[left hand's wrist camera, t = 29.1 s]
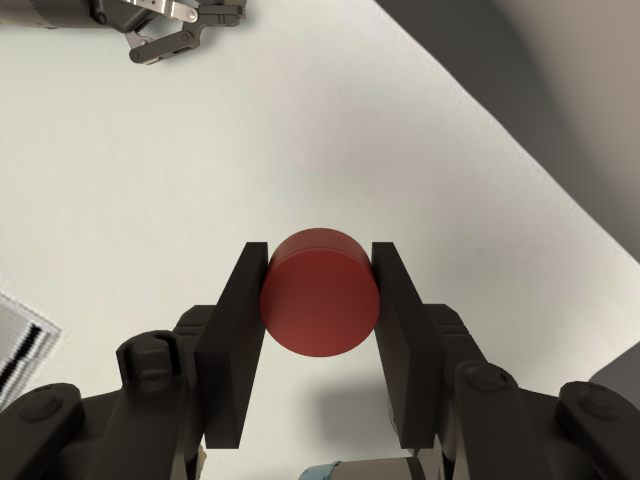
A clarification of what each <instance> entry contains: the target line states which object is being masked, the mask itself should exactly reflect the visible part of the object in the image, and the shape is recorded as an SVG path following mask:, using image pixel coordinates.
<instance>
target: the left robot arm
mask: <svg viewBox="0 0 640 480" xmlns="http://www.w3.org/2000/svg"><path fill="white" fill-rule="evenodd" d="M268 265H269V263H268V243H267V242H247V243H246V245H245V247H244V249H243V251H242V253H241V255H240V257H239V259H238V261H237V263H236V266H235V268H234V270H233V272H232V274H231V276H230V278H229V280H228V282H227V284H226V286H225V288H224V290H223V292H222V294H221V296H220V298H219V301H218V303H217V305H195V306H193V307H192V308H191V309H189V310H188V311H186V312H185V313H184V314H183V315H182V316H181V318H180V320H179V321H178V323H177V324H176V327H175V328H174V329H173V331H168V330H155V331H150V332H145V333H142V334H139V335H137V336H134V337H132V338H130V339H129V340H127V341H126V342H124V343H123V344H121V346H120V347H119V348H118V349H117V351H116V356H117V360H118V365H119V369H120V374H121V379H122V383H123V385H122V388H121V389H120V390H117V391H114V392H110V393H106V394H102V395H97V396H92V397H88V398H83V399H82V398H81V394H80V390H79V389H78V388H77V387H76V386H75V385H73V384H68V383H55V384H49V385H45V386H42V387H39V388H36V389H34V390H32V391H30V392H28V393H26V394H24V395H22V396H20V397H19V398H18V399H16V400H15V401H14V402H12V403H11V404H10V405H9V406H8V407H7V408H6V409H4V410H3V411H2V412H1V413H0V480H199V476H200V466H201V465H200V458H199V451H198V448H199V445H200V443H201V440H202V437H203V434H204V435H205V443H206V449H238V448H239V444H240V439H241V435H242V431H243V426H244V422H245V418H246V413H247V409H248V404H249V400H250V396H251V391H252V387H253V382H254V378H255V374H256V369H257V365H258V361H259V356H260V352H261V347H262V343H263V339H264V334H265V330H266V327H265V326H264V324H263V321H262V318H261V312H260V293H261V289H262V285H263V282H264V279H265V275H266V272H267V268H268ZM371 266H372V269H373V273H374V276H375V280H376V283H377V286H378V290H379V294H380V307H379V318H378V320H377V323H376V325H375V327H374V331H375V335H376V340H377V344H378V348H379V353H380V357H381V362H382V366H383V370H384V375H385V379H386V384H387V388H388V392H389V401H388V409H389V414H390V419H391V423H392V426H393V428H394V430H395V432H396V433H397V435H398V436H399V441H400V445H401V449H408V451H409V452H410V454H411V455H412V457H404V458H391V459H378V460H365V461H352V462H341V461H336V462H334V463H333V464H327V465H320V466H313V467H310V468H308V469H306V470H305V471H304V472H303V473H302V474H301V476H300V478H299V480H640V411H639V410H638V409H637V408H636V407H635V406H633V405H632V404H631V403H630V402H629V401H628V400H626V399H625V398H623V397H622V396H621V395H620V394H618V393H616V392H614V391H612V390H610V389H608V388H606V387H604V386H601V385H597V384H594V383H590V382H582V381H574V382H569V383H566V384H565V385H564V386H563V387H561V389H560V393H559V397H555V396H550V395H546V394H541V393H537V392H532V391H528V390H525V389H522V388H519V387H518V384H517V383H516V381H515V380H514V378H513V377H512V376H511V375H510V374H509V373H508V372H506V371H505V370H504V369H502V368H500V367H498V366H496V365H494V364H491V363H488V362H487V360H486V359H485V357H484V355H483V354H482V352H481V351H480V349H479V347H478V346H477V344H476V343H475V341H474V339H473V338H472V336H471V334H469V331H468V330H467V328H466V326H464V323H463V322H462V320H461V318H460V317H459V315H458V314H457V312H455V311H454V310H452V309H451V308H450V307H448V306H447V305H445V304H423V303H422V301H421V299H420V297H419V295H418V293H417V291H416V289H415V287H414V285H413V283H412V281H411V278H410V276H409V274H408V272H407V270H406V268H405V266H404V264H403V262H402V260H401V258H400V256H399V254H398V252H397V250H396V248H395V246H394V243H393V242H372V258H371Z"/></svg>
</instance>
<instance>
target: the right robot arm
mask: <svg viewBox="0 0 640 480" xmlns="http://www.w3.org/2000/svg"><path fill="white" fill-rule="evenodd" d="M157 15H161V16H164V17H168V18H171V19H174V20H177V21H181V22H183V27H182V31H180V32H177V33H174V34H171V35H169V36H166V37H163V38H161V39H158V40H154V39H153V38H150V37H147V36H141V35H140V34H139V33H138V32H140V31H141V30H142V29H143V28H144V27H145V26H146V25H147V24H149V23H150V22H151V21H152V20H153V19H154V18H155V17H156V16H157ZM245 18H246V17H245V9H244V8H243V6H239V5H198V8H193V7H190V6H187V5H184V4H181V3H178V2H175V1H172V0H0V24H13V25H19V26H25V27H40V28H48V29H57V28H111V29H115V30H117V31H118V32H120V33H124V34H125V36H126V38H127V40H128V43H129V45H130V47H131V49H132V50H131V51H130V53H129V56H130V59H131V60H132V61H133V62H134V63H139V64H145V65H151V64H153V63H156V62H159V61H162V60H164V59H167V58H170V57H173V56H175V55H178V54H181V53H184V52H186V51H189V50H192V49H195V48H197V47H198V46H199V45H200V39H199V38H200V34H201V31H202V29H203V28H204V27H207V26H224V27H227V26H228V27H234V26H237V25H239V19H245Z"/></svg>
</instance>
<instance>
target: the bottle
mask: <svg viewBox="0 0 640 480" xmlns="http://www.w3.org/2000/svg"><path fill="white" fill-rule="evenodd" d="M195 1H196V2H198V3H199V4H201V5H239V6H243V8H244V7H245V4H246V0H195Z"/></svg>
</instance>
